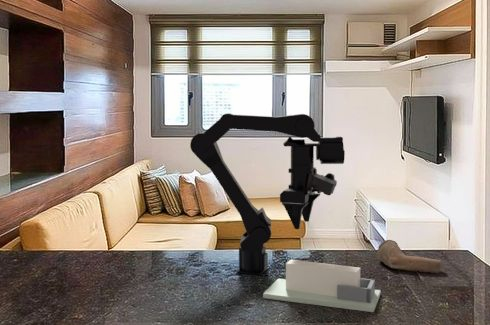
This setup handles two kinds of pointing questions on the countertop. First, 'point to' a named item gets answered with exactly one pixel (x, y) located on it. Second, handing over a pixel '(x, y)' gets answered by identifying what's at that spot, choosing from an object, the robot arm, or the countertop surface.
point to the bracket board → (346, 296)
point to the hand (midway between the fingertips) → (302, 225)
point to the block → (319, 277)
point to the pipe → (405, 259)
